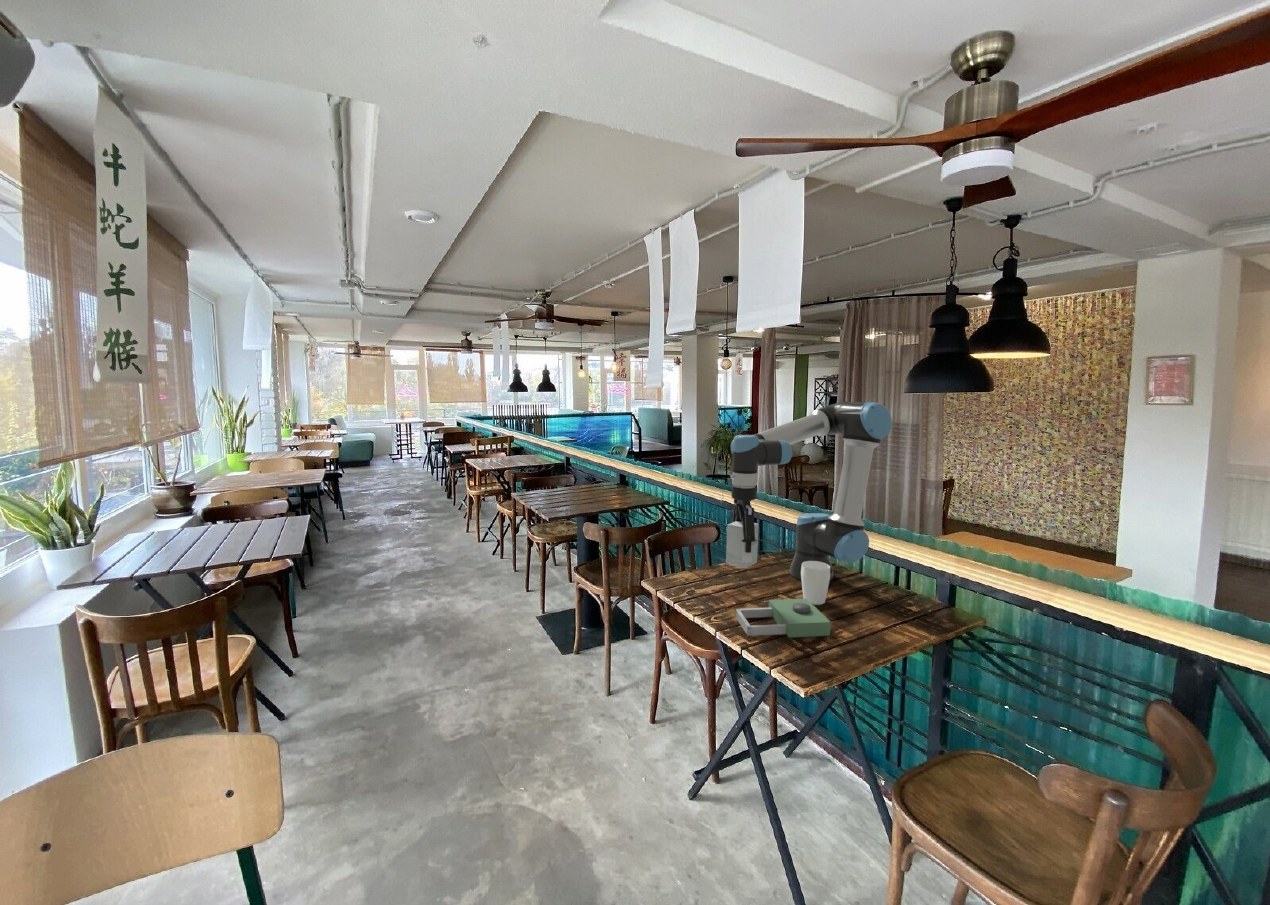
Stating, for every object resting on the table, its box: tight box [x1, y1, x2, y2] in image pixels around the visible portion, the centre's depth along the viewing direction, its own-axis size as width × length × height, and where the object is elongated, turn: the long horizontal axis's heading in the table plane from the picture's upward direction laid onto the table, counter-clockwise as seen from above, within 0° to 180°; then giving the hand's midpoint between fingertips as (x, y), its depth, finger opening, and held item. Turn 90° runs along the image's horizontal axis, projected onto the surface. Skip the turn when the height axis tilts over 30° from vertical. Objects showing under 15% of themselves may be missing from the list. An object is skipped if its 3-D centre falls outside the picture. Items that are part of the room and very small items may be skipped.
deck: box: [734, 598, 832, 639], centre depth 149 cm, size 23×16×5 cm
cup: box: [801, 561, 831, 606], centre depth 165 cm, size 9×9×12 cm
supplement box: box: [725, 521, 759, 570], centre depth 157 cm, size 7×7×13 cm
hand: (741, 556), depth 158 cm, fingers closed on supplement box, 10 cm apart
